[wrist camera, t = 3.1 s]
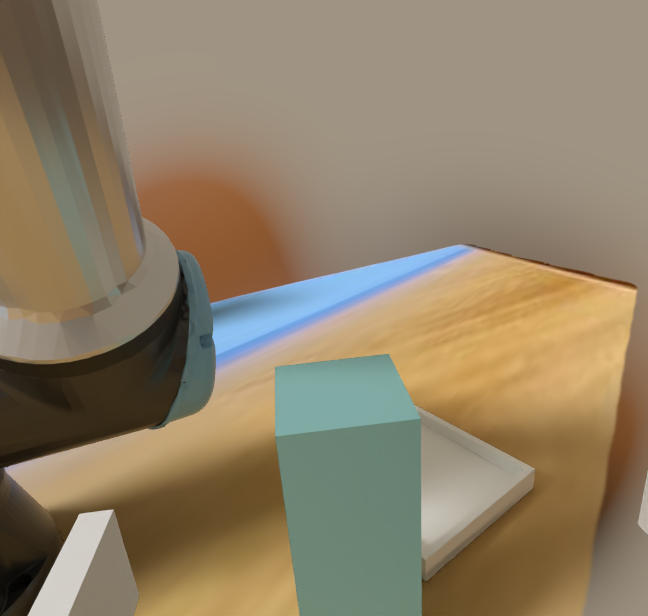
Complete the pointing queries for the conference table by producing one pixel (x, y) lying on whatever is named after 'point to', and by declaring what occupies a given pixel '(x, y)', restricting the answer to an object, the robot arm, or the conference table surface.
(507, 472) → the tray
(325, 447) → the teal post
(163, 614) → the conference table surface
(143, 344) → the robot arm
